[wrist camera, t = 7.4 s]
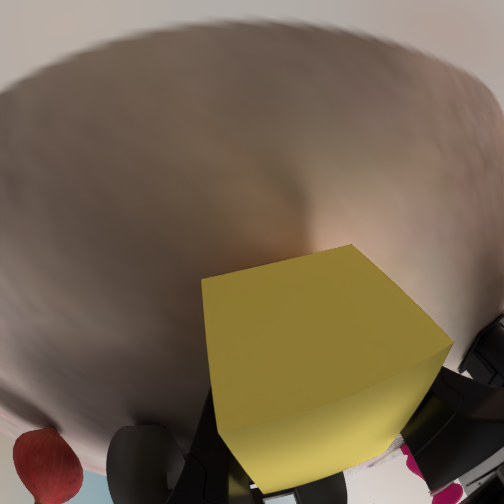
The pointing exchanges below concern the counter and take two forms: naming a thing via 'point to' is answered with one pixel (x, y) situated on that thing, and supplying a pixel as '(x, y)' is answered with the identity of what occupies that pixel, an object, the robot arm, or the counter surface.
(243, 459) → the block
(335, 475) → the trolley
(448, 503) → the pepper mill
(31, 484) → the onion
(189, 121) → the counter surface
